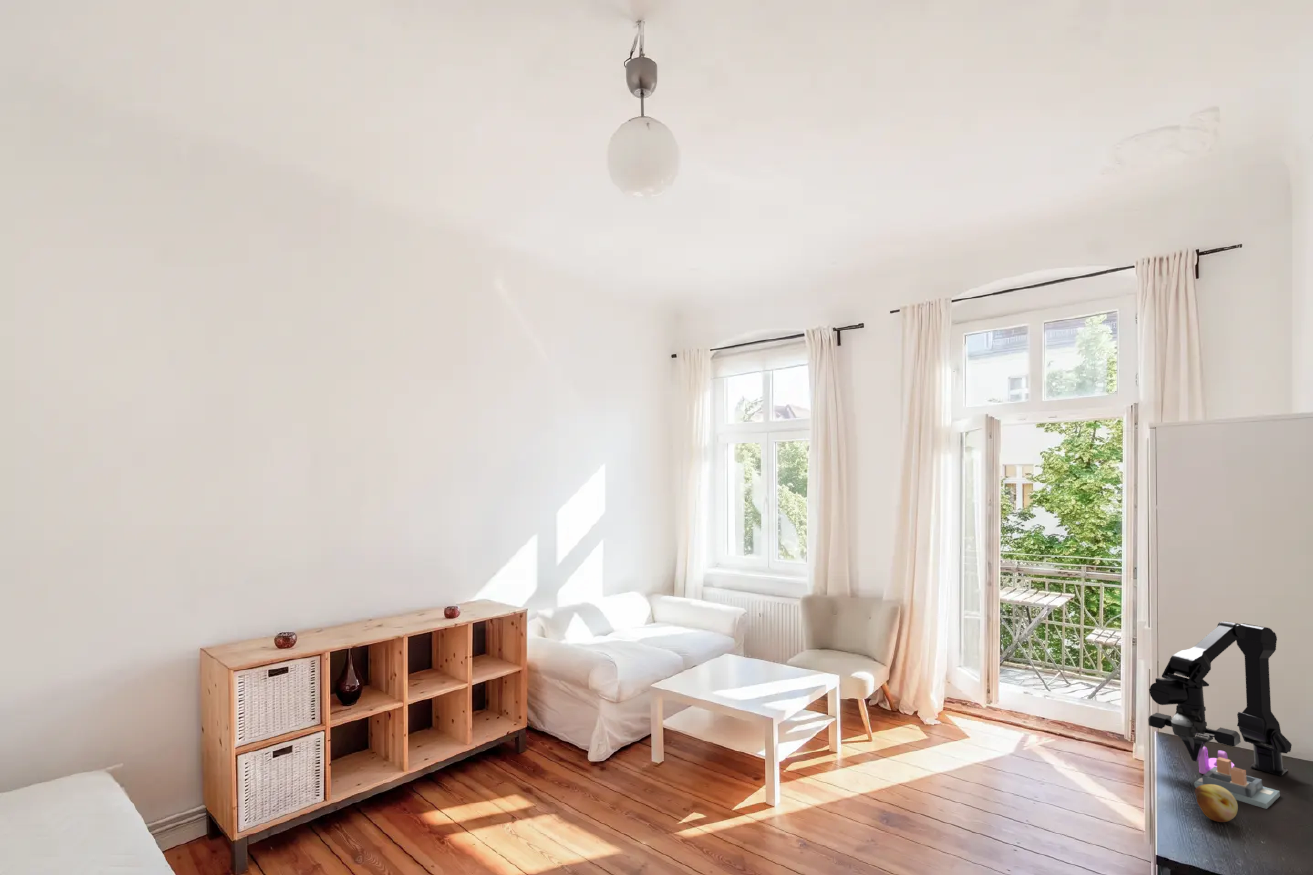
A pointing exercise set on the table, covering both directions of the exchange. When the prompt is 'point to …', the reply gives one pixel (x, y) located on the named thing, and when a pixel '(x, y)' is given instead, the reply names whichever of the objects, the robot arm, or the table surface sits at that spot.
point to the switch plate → (1241, 788)
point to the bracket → (1209, 760)
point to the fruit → (1216, 802)
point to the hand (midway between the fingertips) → (1195, 760)
